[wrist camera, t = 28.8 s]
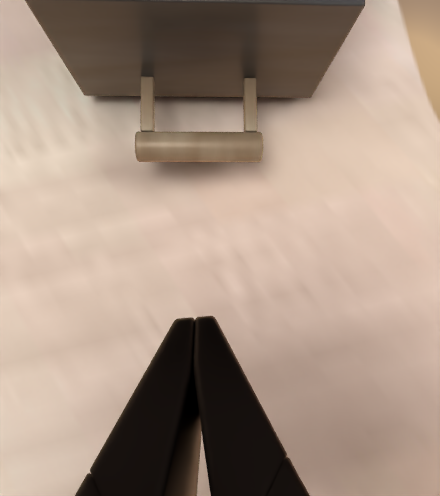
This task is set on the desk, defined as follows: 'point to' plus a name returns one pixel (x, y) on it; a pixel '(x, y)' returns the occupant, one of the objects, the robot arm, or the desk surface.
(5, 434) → the desk surface
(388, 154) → the desk surface
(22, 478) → the desk surface
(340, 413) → the desk surface
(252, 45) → the drawer
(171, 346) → the robot arm
